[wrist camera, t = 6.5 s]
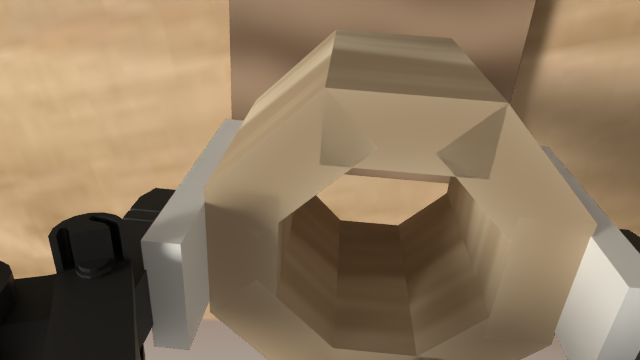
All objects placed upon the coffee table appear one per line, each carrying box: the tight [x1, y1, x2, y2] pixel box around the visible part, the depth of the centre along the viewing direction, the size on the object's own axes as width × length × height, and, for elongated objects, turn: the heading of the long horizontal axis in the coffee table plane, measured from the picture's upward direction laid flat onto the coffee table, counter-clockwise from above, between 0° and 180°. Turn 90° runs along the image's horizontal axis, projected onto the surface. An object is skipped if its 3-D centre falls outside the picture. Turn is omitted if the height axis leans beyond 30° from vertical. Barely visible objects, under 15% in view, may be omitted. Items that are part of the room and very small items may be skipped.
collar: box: [204, 29, 597, 360], centre depth 14 cm, size 8×8×6 cm
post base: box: [229, 0, 536, 183], centre depth 23 cm, size 14×16×12 cm
